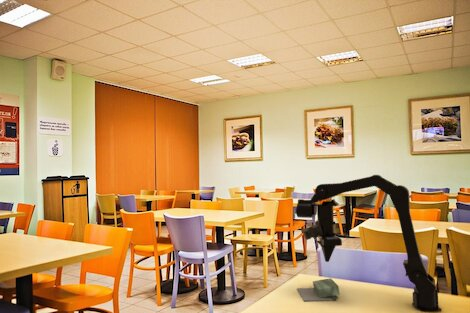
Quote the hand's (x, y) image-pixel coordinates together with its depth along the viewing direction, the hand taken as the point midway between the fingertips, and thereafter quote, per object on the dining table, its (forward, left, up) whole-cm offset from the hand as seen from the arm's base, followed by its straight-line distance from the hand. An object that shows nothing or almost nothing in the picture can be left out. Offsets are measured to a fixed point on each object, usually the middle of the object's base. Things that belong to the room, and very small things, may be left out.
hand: (327, 261), depth 134 cm
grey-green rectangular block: (-3, 0, -9) cm, 9 cm away
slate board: (+5, 0, -12) cm, 13 cm away
